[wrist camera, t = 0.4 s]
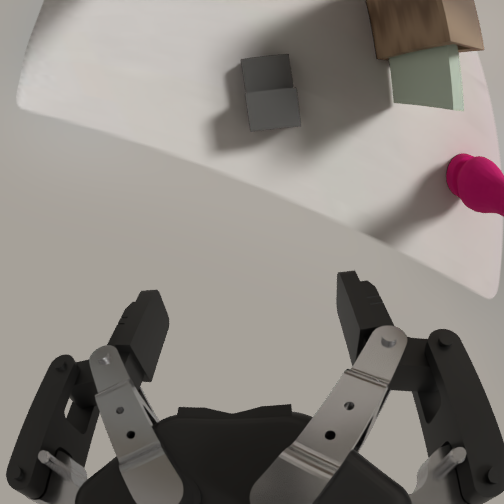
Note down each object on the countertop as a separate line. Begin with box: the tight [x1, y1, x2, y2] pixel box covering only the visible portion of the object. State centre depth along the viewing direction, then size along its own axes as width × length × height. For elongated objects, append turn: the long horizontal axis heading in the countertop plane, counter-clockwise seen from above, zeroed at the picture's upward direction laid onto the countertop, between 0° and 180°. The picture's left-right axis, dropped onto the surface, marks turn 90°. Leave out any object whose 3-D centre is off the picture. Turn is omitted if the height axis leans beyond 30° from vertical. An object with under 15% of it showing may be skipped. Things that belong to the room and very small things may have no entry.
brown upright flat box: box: [366, 0, 484, 60], centre depth 18 cm, size 10×4×16 cm, turn 8°
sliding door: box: [389, 44, 464, 111], centre depth 20 cm, size 12×1×12 cm, turn 8°
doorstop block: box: [241, 54, 301, 132], centre depth 28 cm, size 8×5×5 cm, turn 8°
